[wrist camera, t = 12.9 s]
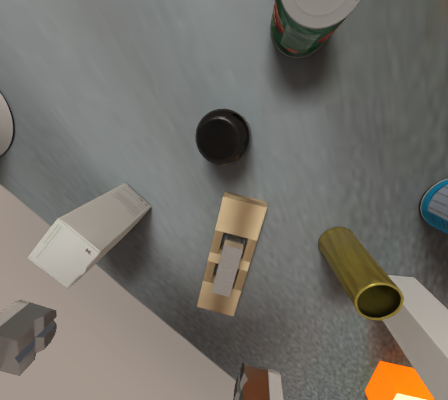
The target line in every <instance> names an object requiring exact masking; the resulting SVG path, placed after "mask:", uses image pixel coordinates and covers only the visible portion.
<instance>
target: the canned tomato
mask: <svg viewBox="0 0 448 400" xmlns="http://www.w3.org/2000/svg"><path fill="white" fill-rule="evenodd" d="M359 2H360V0H275V3H274V9H273V14H272V19H271V26H270V28H271V36H272V40H273V42H274V44H275V46H276V47H277V49H278V50H279V51H280V52H281V53H282V54H284V55H286V56H288V57H291V58H303V57H306V56H309V55H311V54H313V53H314V52H316V51H317V50H318V49H319V48H320V47H321V46H322V45H323V43H324V42H325V41H326V40H327V39H328V38H329V37H330V36H331V34H332V33H333V32H334V31H335V30H336V29H337V28H338V26H339V25H340V24H341V23H342V22H343V21H344V20H345V19H346V17H347V16H348V15H349V14H350V13H351V12H352V11H353V10H354V9H355V7H356V6H357V5H358V3H359Z"/></svg>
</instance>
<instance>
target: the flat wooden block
mask: <svg viewBox="0 0 448 400" xmlns="http://www.w3.org/2000/svg"><path fill="white" fill-rule="evenodd" d="M266 210H267V204H266V202H265V201H261V200H257V199H253V198H249V197H245V196H241V195H237V194H234V193H230V192H226V191H225V193H224V196H223V200H222V204H221V208H220V212H219V216H218V220H217V225H216V229H215V233H214V237H213V241H212V245H211V250H210V254H209V258H208V262H207V266H206V270H205V274H204V279H203V283H202V287H201V291H200V295H199V299H198V304H197V307H200V308H203V309H207V310H211V311H214V312H218V313H222V314H225V315H229V316H233V317H234V313H235V310H236V307H237V304H238V300H239V297H240V294H241V291H242V288H243V284H244V281H245V278H246V275H247V271H248V268H249V265H250V262H251V258H252V255H253V252H254V249H255V246H256V242H257V239H258V236H259V233H260V229H261V226H262V223H263V220H264V216H265V213H266ZM223 232H225V233H228V234H232V235H236V236H240V237H244V238H247V239H246V242H245V245H244V249H243V252H242V255H241V259H240V262H239V266H238V269H237V273H236V276H235V280H234V283H233V286H232V290H231V293H230V297H227V296H223V295H219V294H216V293H212V289H213V285H214V281H215V277H216V273H213V272H214V268H215V264H216V263H218V264H219V261H220V258H221V254H222V250H223V246H220V244H221V240H222V236H223Z"/></svg>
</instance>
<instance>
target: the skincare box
mask: <svg viewBox="0 0 448 400" xmlns="http://www.w3.org/2000/svg"><path fill="white" fill-rule="evenodd" d="M150 208H151V206H150V205H149V204H148V203H147V202H146V201H145V200H144V199H142V198H141V197H140V196H139V195H138V194H137V193H136V192H135V191H134V190H132V189H131V188H130V187H129V186H128V185H127V184H126V183H124V184H122V185H120V186H118V187H116V188H114V189H112V190H111V191H109V192H107V193H105V194H103V195H101V196H99V197H98V198H96V199H94V200H92V201H90V202H88V203H86V204H84V205H82V206H81V207H79V208H77V209H75V210H73V211H71V212H69V213H67V214H65V215H64V216H62V217H60V218H58V219H57V220H56V221H55V223H54V224H53V225H52V226H51V228H50V229H49V230H48V232H47V233H46V234H45V235H44V237H43V238H42V239H41V241H40V242H39V243H38V244H37V246H36V247H35V248H34V250H33V251H32V253H31V254H30V255H29V257H28V259H30V260H31V261H32V262H33V263H35V264H36V265H37V266H39V267H40V268H41V269H43V270H44V271H45V272H47V273H48V274H49V275H51V276H52V277H54V278H55V279H56V280H57V281H59V282H60V283H61V284H62V285H64V286H65V287H66V288H69V287H71V286H72V285H73V284H74V283H75V282H76V281H77V280H79V279H80V278H81V277H82V276H83V275H84V274H85V273H86V272H87V271H88V270H89V269H90V268H91V267H92V266H94V265H95V264H96V263H97V262H98V261H99V260H100V259H101V258H102V257H103V256H104V255H105V254H106V253H107V252H108V251H109V250H111V249H112V248H113V247H114V246H115V245H116V244H117V243H118V242H119V241H120V240H121V239H122V238H123V237H124V236H125V235H126V234H127V233H128V232H129V231H130V230H131V229H132V228H133V227H134V226H135V225H136V224H137V223H138V222H139V221H140V220H141V218H142V217H143V216H144V215H145V214H146V213H147V212H148V211H149V209H150Z"/></svg>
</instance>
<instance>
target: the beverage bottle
mask: <svg viewBox="0 0 448 400" xmlns="http://www.w3.org/2000/svg"><path fill="white" fill-rule="evenodd" d="M420 211H421V215H422V217H423V219H424V220H425V221H426V222H427V223H428V224H429V225H431V226H433V227H435V228H437V229H439V230H441V231H443V232H444V233H446V234H448V179H445V180H442V181H440V182H438V183H436V184H435V185H433V186H432V187H431V188H430V189H429V190H428V191H427V192H426V193H425V195H424V196H423V198H422V201H421V205H420Z"/></svg>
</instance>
